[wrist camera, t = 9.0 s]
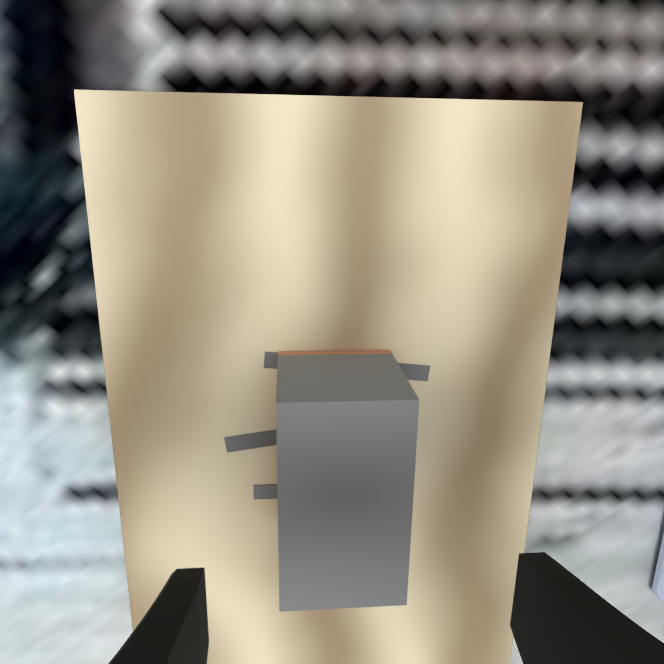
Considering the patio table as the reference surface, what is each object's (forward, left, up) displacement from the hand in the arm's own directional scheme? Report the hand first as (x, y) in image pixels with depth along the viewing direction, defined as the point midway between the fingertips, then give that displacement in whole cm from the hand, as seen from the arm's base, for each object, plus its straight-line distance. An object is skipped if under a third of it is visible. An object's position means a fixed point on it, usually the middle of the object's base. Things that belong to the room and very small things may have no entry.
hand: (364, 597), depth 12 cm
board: (0, +2, -10) cm, 10 cm away
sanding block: (0, 0, -8) cm, 8 cm away
